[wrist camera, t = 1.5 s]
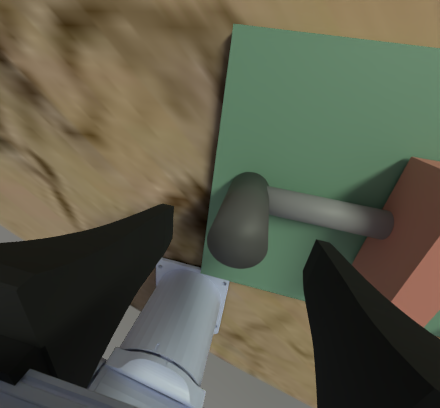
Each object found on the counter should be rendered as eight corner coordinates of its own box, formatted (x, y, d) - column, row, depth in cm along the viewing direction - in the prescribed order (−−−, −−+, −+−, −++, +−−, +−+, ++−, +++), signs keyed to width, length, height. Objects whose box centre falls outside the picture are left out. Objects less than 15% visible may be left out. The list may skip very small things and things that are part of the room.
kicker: (382, 272, 18) (442, 367, 11) (222, 233, 19) (198, 299, 13) (453, 164, 13) (608, 221, 7) (240, 126, 15) (219, 147, 9)
